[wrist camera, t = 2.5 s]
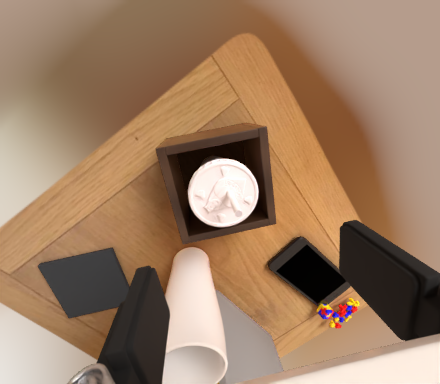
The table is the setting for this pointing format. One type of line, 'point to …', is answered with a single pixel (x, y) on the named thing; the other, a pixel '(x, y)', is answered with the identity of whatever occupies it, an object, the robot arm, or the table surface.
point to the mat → (87, 282)
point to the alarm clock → (246, 345)
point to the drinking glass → (193, 323)
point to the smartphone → (309, 272)
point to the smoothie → (222, 192)
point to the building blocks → (327, 312)
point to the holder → (255, 162)
